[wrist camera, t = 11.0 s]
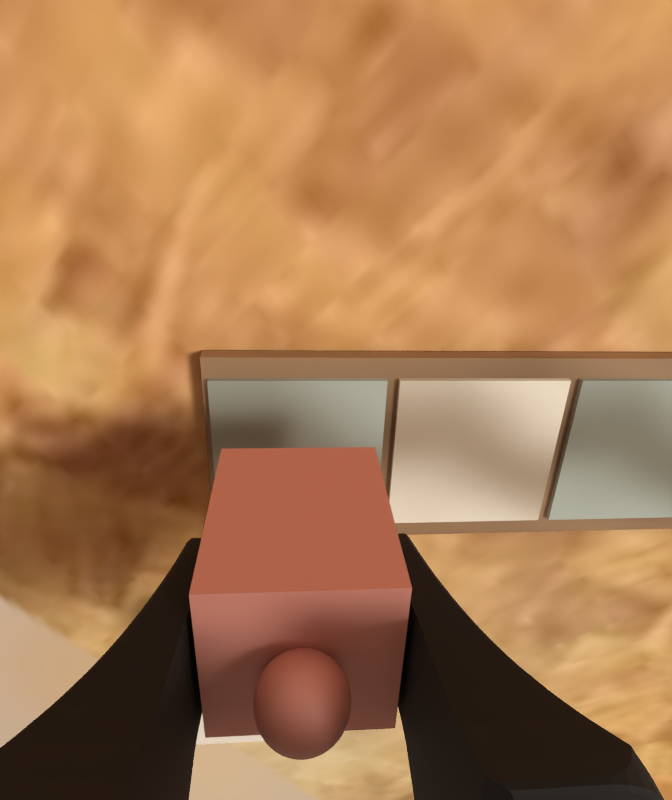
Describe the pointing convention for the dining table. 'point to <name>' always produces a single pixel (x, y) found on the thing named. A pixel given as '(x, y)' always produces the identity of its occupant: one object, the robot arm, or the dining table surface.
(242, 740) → the die
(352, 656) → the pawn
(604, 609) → the dining table surface
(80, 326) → the dining table surface
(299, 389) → the track
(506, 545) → the dining table surface
